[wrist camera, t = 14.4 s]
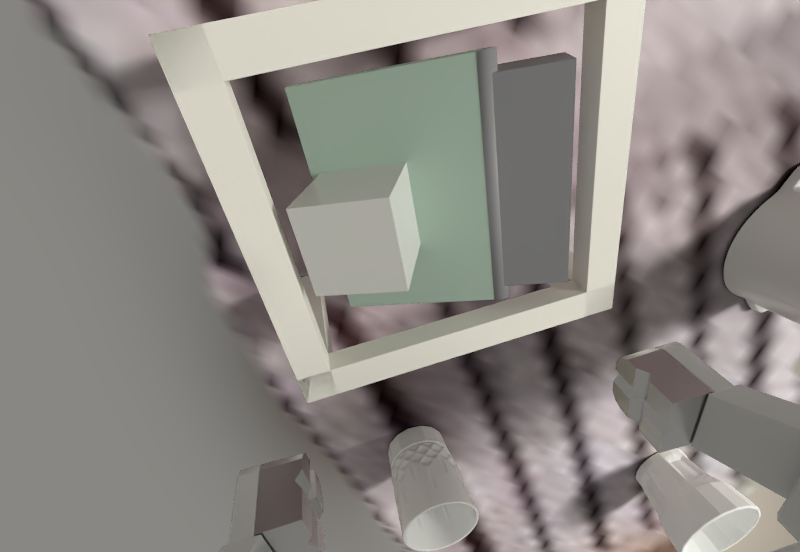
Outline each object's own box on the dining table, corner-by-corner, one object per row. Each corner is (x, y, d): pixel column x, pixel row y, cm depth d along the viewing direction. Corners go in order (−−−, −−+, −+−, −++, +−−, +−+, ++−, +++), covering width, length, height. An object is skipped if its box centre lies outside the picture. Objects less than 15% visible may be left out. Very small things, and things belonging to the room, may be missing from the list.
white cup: (374, 437, 47) (393, 523, 38) (438, 412, 47) (471, 491, 39) (393, 475, 51) (414, 561, 42) (452, 451, 51) (484, 531, 43)
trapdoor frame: (514, -23, 28) (653, -67, 17) (521, 236, 38) (611, 308, 28) (205, 40, 26) (147, 34, 15) (301, 298, 36) (307, 403, 25)
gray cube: (406, 161, 22) (389, 197, 18) (420, 243, 25) (408, 290, 20) (320, 173, 23) (285, 209, 19) (342, 250, 26) (316, 296, 22)
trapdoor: (565, 29, 20) (577, 32, 18) (559, 269, 27) (567, 296, 25) (305, 79, 23) (283, 88, 21) (360, 282, 31) (349, 307, 28)
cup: (643, 499, 70) (699, 569, 60) (610, 478, 64) (666, 552, 54) (704, 454, 67) (771, 519, 58) (676, 427, 61) (746, 496, 52)
